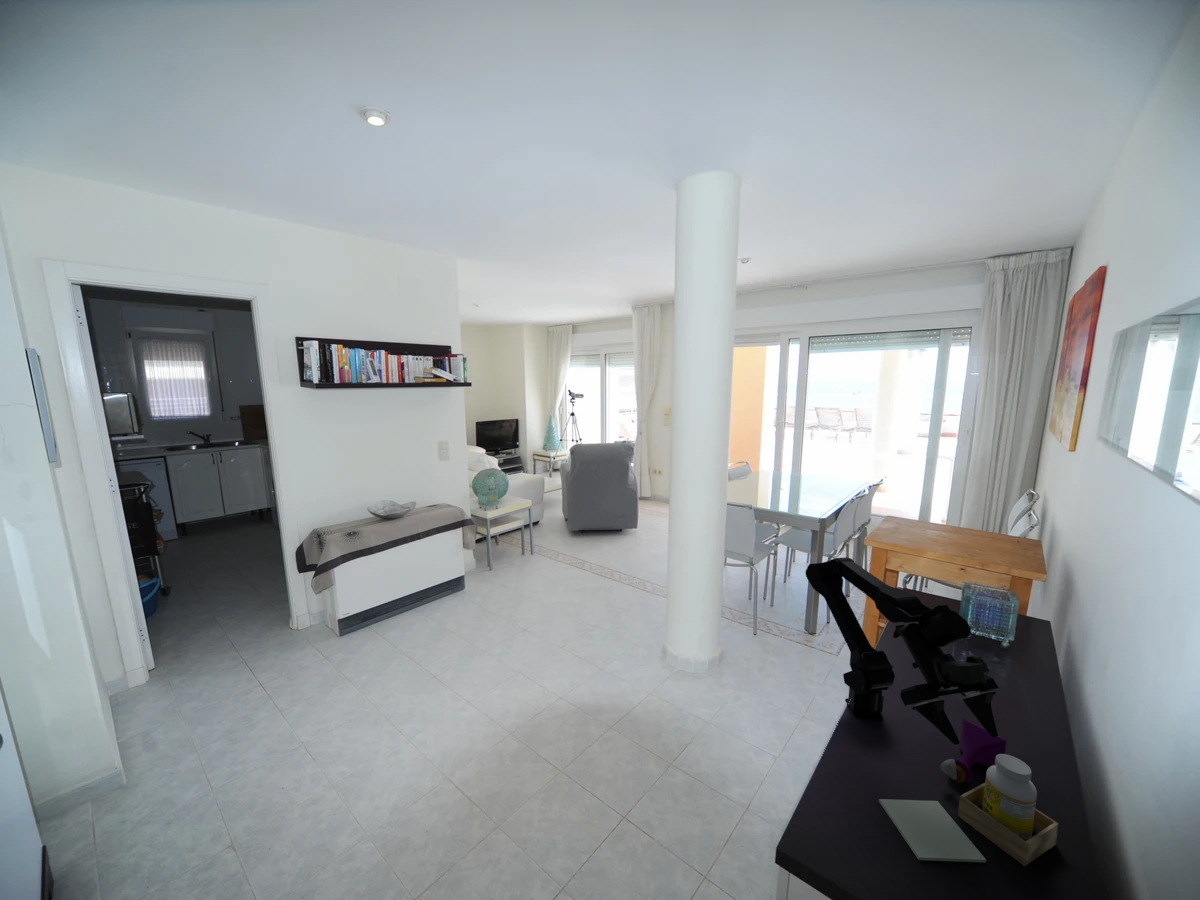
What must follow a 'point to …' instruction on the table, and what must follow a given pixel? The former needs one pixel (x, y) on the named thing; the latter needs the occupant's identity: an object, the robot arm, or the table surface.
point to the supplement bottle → (1010, 795)
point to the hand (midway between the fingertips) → (976, 740)
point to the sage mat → (930, 831)
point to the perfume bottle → (973, 752)
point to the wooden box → (1004, 836)
